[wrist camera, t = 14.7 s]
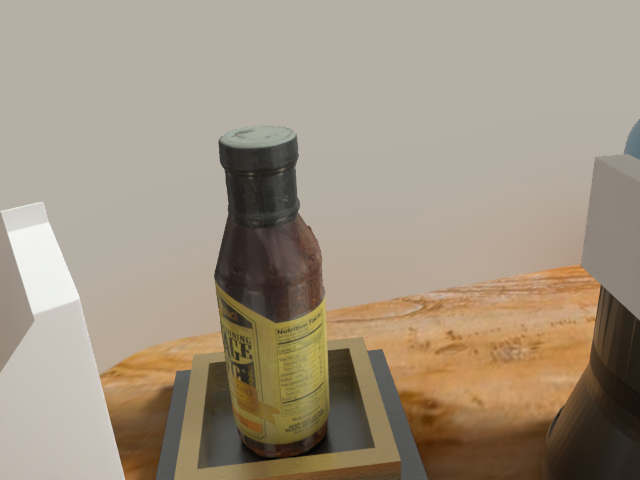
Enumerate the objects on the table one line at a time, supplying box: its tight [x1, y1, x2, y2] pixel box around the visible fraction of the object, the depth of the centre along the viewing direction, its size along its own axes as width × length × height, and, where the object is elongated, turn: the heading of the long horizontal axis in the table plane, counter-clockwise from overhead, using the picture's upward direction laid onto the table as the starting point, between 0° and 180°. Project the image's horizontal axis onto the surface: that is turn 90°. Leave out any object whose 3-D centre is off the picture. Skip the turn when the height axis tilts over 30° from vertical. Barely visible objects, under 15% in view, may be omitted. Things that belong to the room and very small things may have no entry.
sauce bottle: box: [214, 126, 330, 458], centre depth 35 cm, size 7×6×20 cm
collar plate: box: [156, 337, 428, 480], centre depth 39 cm, size 16×16×4 cm
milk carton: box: [0, 202, 125, 480], centre depth 32 cm, size 7×7×19 cm
